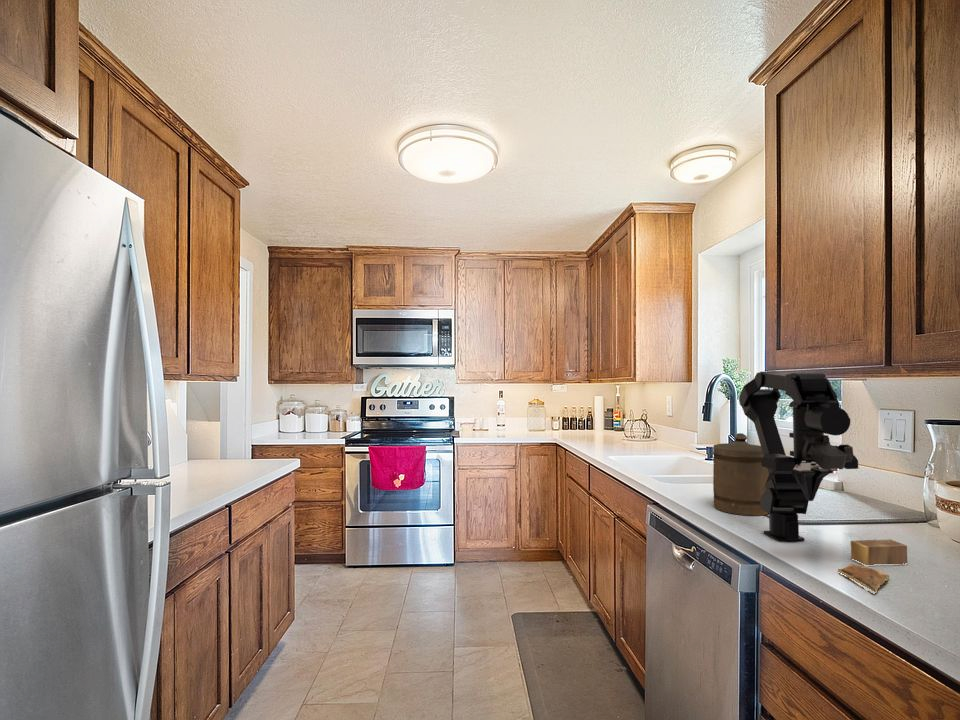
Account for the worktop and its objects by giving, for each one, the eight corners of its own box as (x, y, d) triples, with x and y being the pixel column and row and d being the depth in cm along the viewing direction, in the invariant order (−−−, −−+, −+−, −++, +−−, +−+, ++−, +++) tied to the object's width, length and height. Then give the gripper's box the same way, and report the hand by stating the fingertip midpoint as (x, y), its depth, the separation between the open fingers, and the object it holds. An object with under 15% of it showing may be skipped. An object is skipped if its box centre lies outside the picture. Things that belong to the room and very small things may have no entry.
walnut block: (850, 540, 111) (890, 539, 111) (851, 559, 111) (891, 558, 111) (865, 547, 107) (906, 545, 107) (866, 566, 107) (907, 565, 107)
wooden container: (754, 502, 158) (752, 430, 158) (781, 516, 143) (779, 436, 143) (705, 502, 158) (704, 430, 158) (727, 516, 143) (726, 437, 144)
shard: (875, 598, 93) (874, 588, 93) (826, 585, 99) (826, 575, 99) (891, 582, 100) (891, 572, 100) (845, 570, 106) (844, 561, 106)
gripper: (792, 435, 105) (794, 512, 105) (879, 433, 106) (880, 509, 106) (759, 428, 116) (760, 498, 116) (837, 427, 117) (839, 495, 117)
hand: (809, 500), depth 113 cm, fingers closed
